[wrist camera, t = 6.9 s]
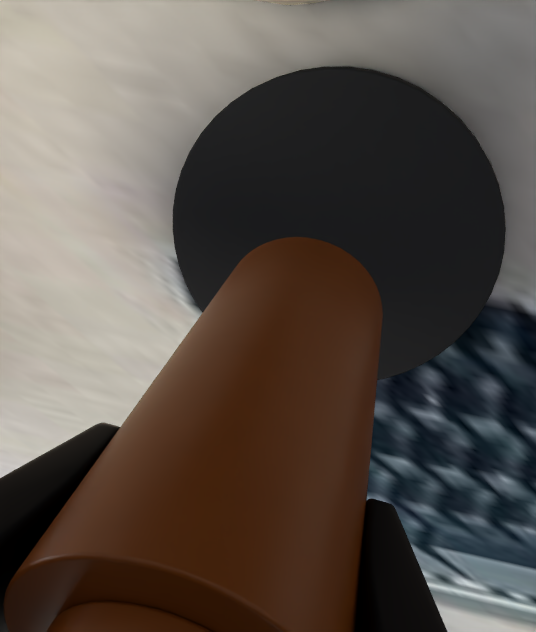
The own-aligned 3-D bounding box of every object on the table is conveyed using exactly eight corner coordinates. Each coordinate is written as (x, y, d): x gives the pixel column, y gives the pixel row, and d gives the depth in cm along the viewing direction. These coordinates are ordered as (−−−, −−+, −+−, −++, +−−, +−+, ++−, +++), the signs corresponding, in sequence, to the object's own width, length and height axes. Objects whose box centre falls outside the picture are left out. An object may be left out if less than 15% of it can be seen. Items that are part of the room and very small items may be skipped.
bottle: (416, 329, 13) (440, 1262, 3) (293, 398, 15) (77, 1100, 5) (312, 202, 12) (-117, 977, 2) (195, 294, 14) (-296, 914, 4)
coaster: (572, 276, 16) (577, 284, 16) (308, 415, 21) (306, 425, 21) (359, -29, 14) (358, -31, 13) (120, 215, 19) (112, 221, 18)
